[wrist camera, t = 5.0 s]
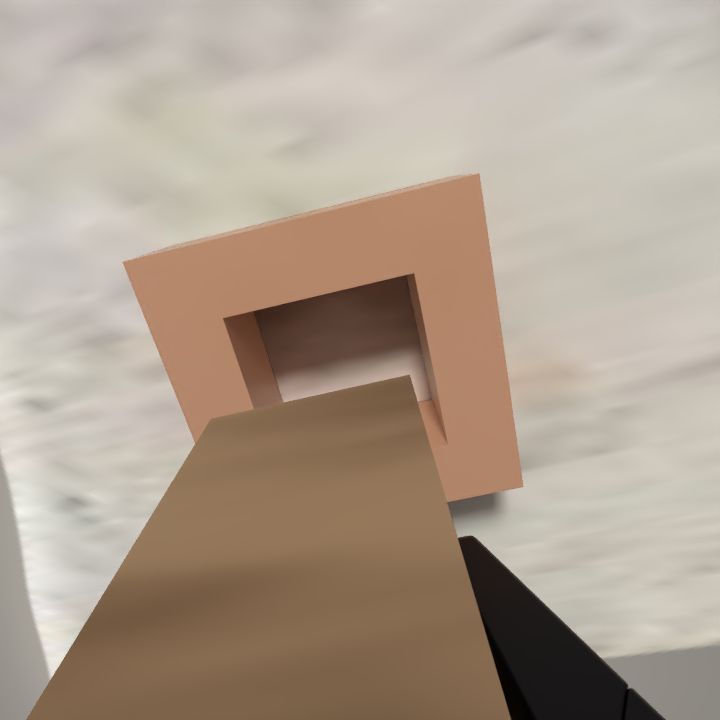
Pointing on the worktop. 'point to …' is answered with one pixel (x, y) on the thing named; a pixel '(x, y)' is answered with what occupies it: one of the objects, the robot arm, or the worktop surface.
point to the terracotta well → (339, 272)
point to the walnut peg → (292, 581)
